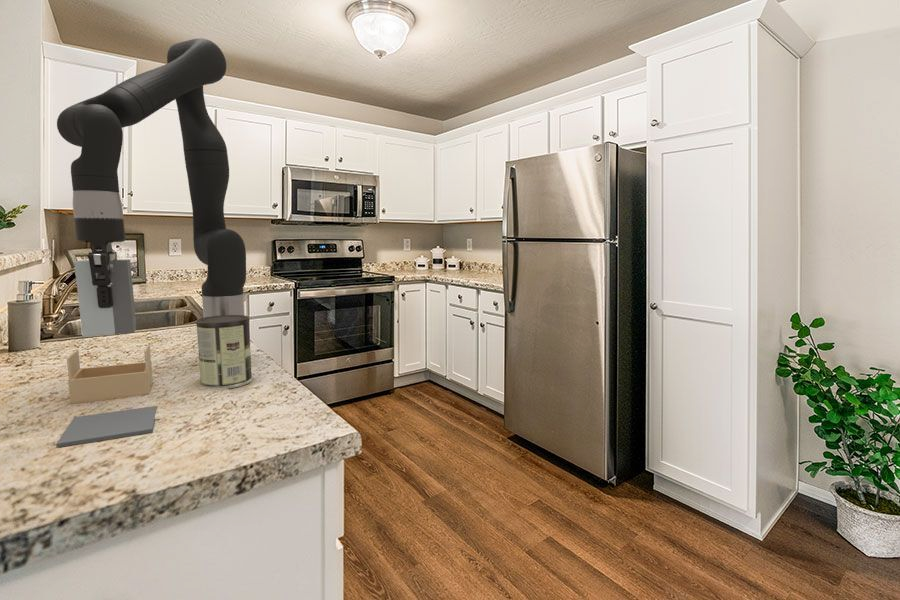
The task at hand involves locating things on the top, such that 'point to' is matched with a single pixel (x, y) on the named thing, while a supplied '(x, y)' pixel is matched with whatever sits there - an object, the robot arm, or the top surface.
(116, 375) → the carton
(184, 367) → the top surface
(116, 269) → the box
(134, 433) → the mat
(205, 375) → the coffee can
